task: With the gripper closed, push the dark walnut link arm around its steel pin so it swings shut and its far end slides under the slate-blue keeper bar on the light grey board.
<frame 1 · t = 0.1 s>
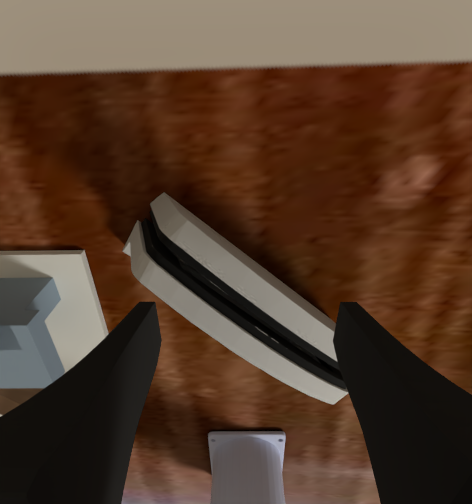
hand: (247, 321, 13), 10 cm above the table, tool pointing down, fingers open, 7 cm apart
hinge: (246, 270, 24), on the table
link arm: (20, 402, 27), point 3 cm above the table, hinge at 45.0°
keeper board: (30, 351, 28), on the table
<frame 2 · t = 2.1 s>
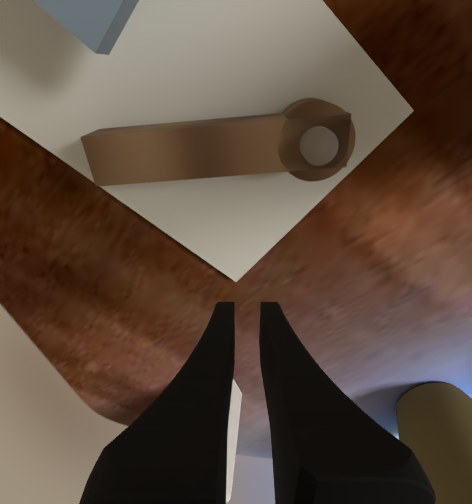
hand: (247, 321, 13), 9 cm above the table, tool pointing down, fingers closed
squeeze bottle: (426, 399, 30), on the table
link arm: (220, 148, 16), point 3 cm above the table, hinge at 45.0°
pepper shaker: (212, 389, 29), on the table
keeper board: (180, 89, 17), on the table
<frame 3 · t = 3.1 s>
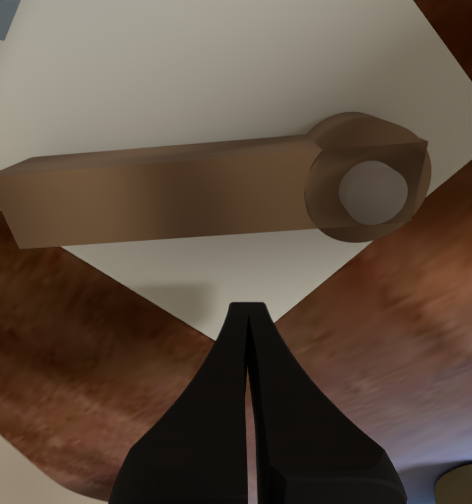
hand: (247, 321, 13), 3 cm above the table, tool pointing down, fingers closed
squeeze bottle: (471, 476, 24), on the table
link arm: (211, 191, 10), point 3 cm above the table, hinge at 45.0°
keeper board: (153, 98, 11), on the table
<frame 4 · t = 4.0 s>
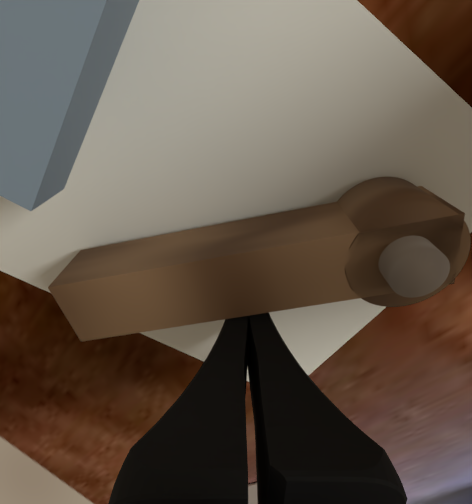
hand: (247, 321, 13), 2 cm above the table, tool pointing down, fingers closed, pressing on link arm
link arm: (252, 270, 11), point 3 cm above the table, hinge at 45.0°, touching gripper
pepper shaker: (261, 496, 24), on the table
keeper board: (185, 182, 12), on the table
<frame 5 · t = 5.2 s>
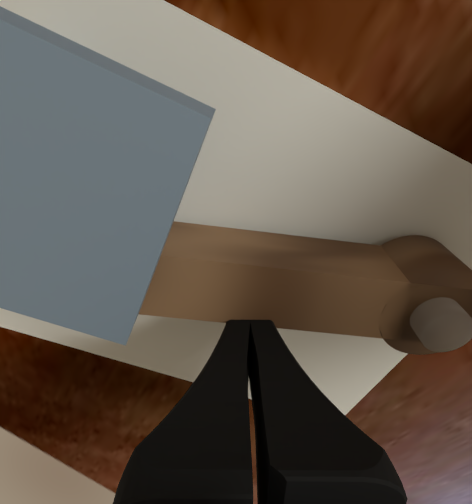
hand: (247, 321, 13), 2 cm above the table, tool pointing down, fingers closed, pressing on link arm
link arm: (294, 287, 11), point 3 cm above the table, hinge at 16.6°, touching gripper
keeper board: (225, 259, 13), on the table
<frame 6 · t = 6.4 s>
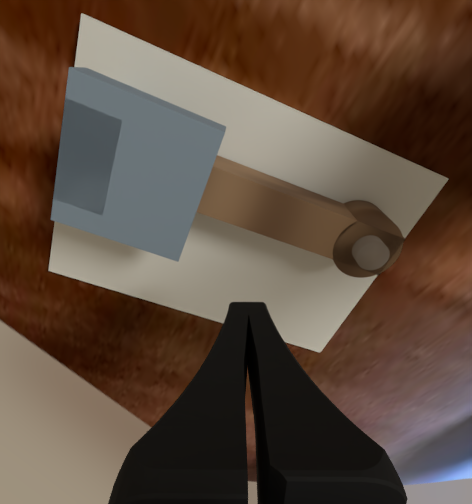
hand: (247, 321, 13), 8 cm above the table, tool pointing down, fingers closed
link arm: (285, 213, 17), point 3 cm above the table, hinge at 0.9°
keeper board: (232, 224, 20), on the table
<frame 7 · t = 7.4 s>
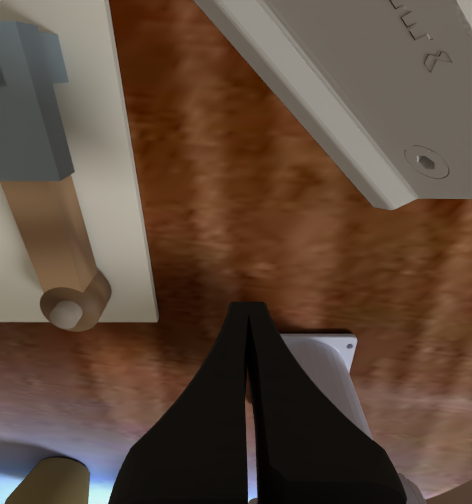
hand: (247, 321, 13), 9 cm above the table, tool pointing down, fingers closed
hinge: (346, 51, 16), on the table
squeeze bottle: (65, 467, 36), on the table
link arm: (53, 239, 18), point 3 cm above the table, hinge at 0.8°
keeper board: (23, 193, 20), on the table
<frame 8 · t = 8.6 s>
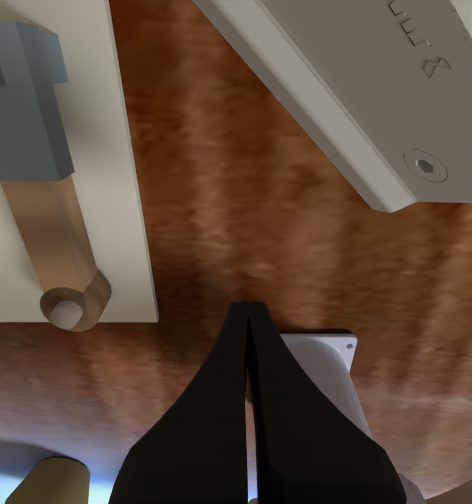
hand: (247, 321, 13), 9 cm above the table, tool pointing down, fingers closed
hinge: (346, 55, 16), on the table
squeeze bottle: (65, 467, 36), on the table
link arm: (53, 239, 18), point 3 cm above the table, hinge at 0.8°
keeper board: (23, 193, 20), on the table
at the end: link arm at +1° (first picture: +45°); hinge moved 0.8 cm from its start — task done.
